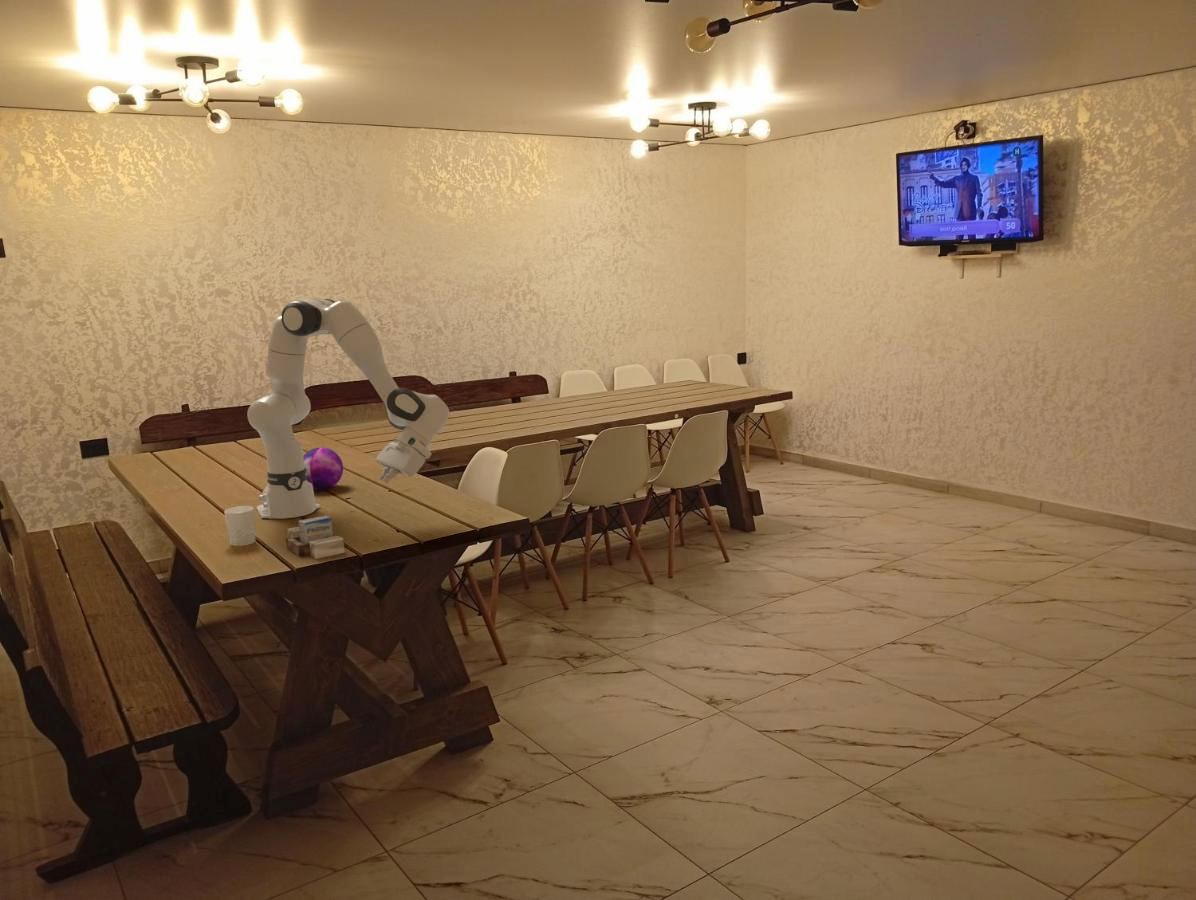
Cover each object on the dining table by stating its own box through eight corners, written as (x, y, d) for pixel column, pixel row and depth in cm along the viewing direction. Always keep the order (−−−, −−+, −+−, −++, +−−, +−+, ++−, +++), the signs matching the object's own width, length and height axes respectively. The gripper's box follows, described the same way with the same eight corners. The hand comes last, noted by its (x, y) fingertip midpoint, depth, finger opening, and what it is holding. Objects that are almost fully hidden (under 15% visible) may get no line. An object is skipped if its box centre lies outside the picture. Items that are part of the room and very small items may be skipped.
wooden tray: (280, 544, 258) (278, 530, 257) (319, 535, 264) (317, 522, 264) (307, 561, 241) (305, 547, 240) (348, 551, 248) (346, 537, 247)
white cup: (261, 538, 264) (257, 505, 262) (252, 546, 257) (248, 512, 255) (234, 539, 264) (230, 506, 262) (224, 547, 256) (220, 513, 254)
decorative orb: (351, 483, 327) (347, 443, 324) (334, 494, 313) (330, 452, 310) (312, 484, 330) (308, 444, 326) (293, 494, 315) (289, 452, 312)
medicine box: (307, 553, 248) (303, 523, 246) (301, 549, 252) (297, 520, 250) (334, 547, 253) (331, 517, 251) (328, 543, 256) (325, 514, 255)
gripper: (388, 433, 273) (360, 469, 270) (419, 442, 257) (390, 481, 254) (403, 445, 277) (375, 481, 273) (434, 455, 261) (405, 494, 257)
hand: (382, 481), depth 263 cm, fingers closed
